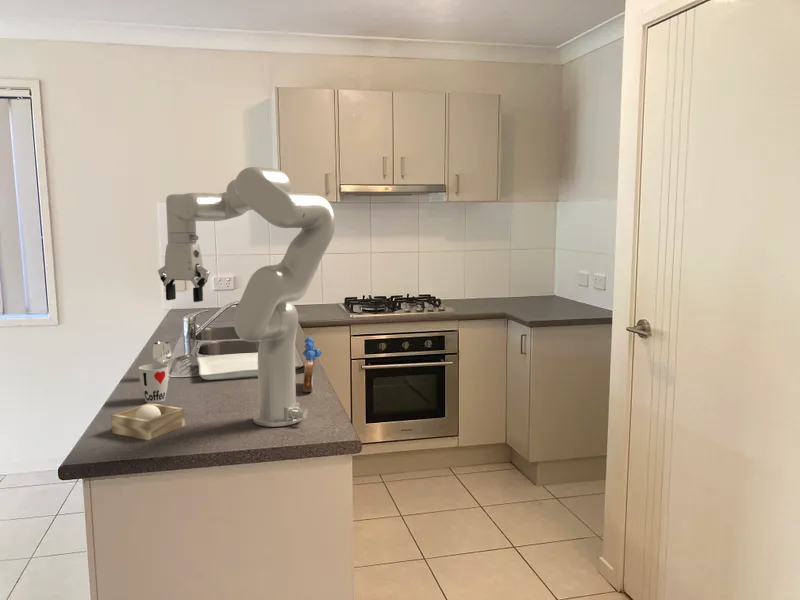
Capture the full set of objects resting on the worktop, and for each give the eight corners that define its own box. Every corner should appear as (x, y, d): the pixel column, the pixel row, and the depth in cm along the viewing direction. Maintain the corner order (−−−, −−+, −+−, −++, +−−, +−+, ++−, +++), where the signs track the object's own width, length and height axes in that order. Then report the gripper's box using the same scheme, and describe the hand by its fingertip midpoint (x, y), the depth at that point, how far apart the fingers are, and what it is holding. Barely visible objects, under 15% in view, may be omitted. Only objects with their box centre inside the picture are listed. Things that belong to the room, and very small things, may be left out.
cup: (138, 405, 183) (136, 370, 182) (141, 397, 191) (140, 364, 190) (169, 403, 185) (167, 368, 184) (171, 395, 193) (169, 362, 192)
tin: (305, 383, 208) (304, 357, 207) (315, 382, 209) (314, 357, 208) (302, 395, 194) (302, 368, 192) (313, 395, 194) (312, 367, 193)
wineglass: (174, 376, 216) (173, 341, 215) (169, 381, 211) (167, 344, 209) (157, 377, 216) (155, 341, 215) (151, 381, 210) (149, 344, 209)
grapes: (322, 373, 221) (322, 338, 220) (302, 374, 220) (301, 339, 219) (322, 365, 233) (321, 332, 231) (303, 366, 232) (302, 333, 230)
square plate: (196, 366, 233) (196, 356, 233) (273, 361, 242) (273, 350, 242) (199, 384, 208) (199, 372, 207) (285, 377, 217) (285, 366, 216)
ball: (167, 426, 164) (165, 403, 163) (148, 433, 158) (146, 409, 158) (149, 423, 166) (147, 400, 166) (130, 430, 161) (129, 407, 160)
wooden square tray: (184, 425, 165) (184, 408, 165) (148, 440, 154) (147, 421, 154) (149, 419, 170) (149, 402, 170) (112, 433, 160) (111, 415, 159)
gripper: (216, 239, 180) (218, 300, 183) (167, 238, 187) (170, 297, 189) (197, 240, 174) (200, 303, 176) (148, 239, 180) (150, 300, 183)
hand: (184, 300), depth 183 cm, fingers open, 9 cm apart
